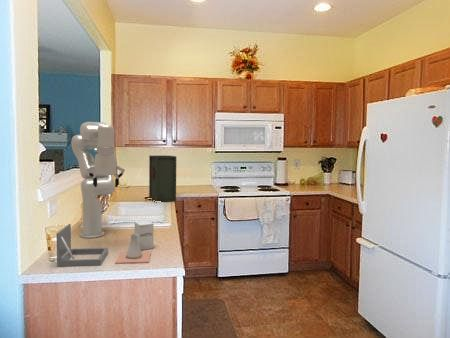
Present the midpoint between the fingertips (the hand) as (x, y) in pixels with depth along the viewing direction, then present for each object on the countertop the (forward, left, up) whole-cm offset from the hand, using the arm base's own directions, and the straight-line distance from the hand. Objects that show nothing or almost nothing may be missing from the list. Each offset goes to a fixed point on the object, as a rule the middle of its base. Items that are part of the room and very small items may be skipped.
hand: (106, 186), depth 165 cm
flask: (+16, +15, -30) cm, 37 cm away
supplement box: (+1, +18, -30) cm, 35 cm away
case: (+16, -6, -30) cm, 35 cm away
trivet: (+16, +15, -30) cm, 37 cm away
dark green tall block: (-137, +22, -30) cm, 142 cm away
